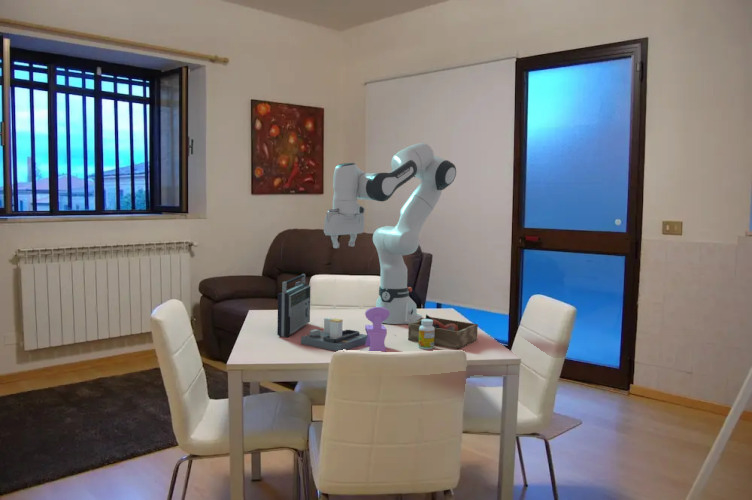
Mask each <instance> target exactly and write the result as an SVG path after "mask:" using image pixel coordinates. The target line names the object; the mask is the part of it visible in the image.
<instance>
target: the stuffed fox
mask: <svg viewBox="0 0 752 500" xmlns="http://www.w3.org/2000/svg"><path fill="white" fill-rule="evenodd" d="M431 317H432V316H429V315H428V314H427V313H426V314H425V318H426V319H431V320H433V325H432V326H433V327H435V328H441V329H447V330H453V331H458V327H459V326H460V325H461V323H459V324H457V325H456V324H453V323H450V324H447V325H443V324H442V323H440V322H439V321H437V320H435V319H433V318H431Z"/></svg>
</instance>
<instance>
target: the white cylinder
mask: <svg viewBox="0 0 752 500" xmlns="http://www.w3.org/2000/svg"><path fill="white" fill-rule="evenodd" d="M343 320H344V319H341V318H336V317H335V318H332V319H331V320H330V338H332V339H337V338H340V337H342V330H343Z"/></svg>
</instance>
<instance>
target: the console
mask: <svg viewBox="0 0 752 500" xmlns="http://www.w3.org/2000/svg"><path fill="white" fill-rule="evenodd" d="M331 319H333V318H331V317H325V318H323V330H320V329H317V328H316V329H315V328H314V329H310V330H309V334H306V335H304V336H301V337H300V344H301V345H303V346H309V347H313V348H318V349H323V350H326V351H334V352H337V351H338V350H343V349H349V350H351V349H354V348H357V347H359V346H363V345H365V344H366V341H367V334H363V333H360V331H358V330H352V329H344V330H343V329H342V337H340V338H337V339H332V338H330V320H331Z"/></svg>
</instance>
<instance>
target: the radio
mask: <svg viewBox="0 0 752 500" xmlns="http://www.w3.org/2000/svg"><path fill="white" fill-rule="evenodd" d="M297 280H300V281H297ZM295 281H297V282H295ZM292 282H295V286H293V287H289V288H287V285H288V284H291V283H292ZM281 284H282V286H281V287H282V288H281V289H282V290H281V291H282V292H280V293H278V294H277V327H276V329H277V331H276V332H277V334H276V335H277V336H278V337H282V338H283V337H284V338H285V337H286V338H287V337H289V336H291V335H292V334H295V332H297V331H298V330H300V329H301V328H303V327H304V326H306V325H307V324H309V323H310V321H311V285H309V284H307V283H306V273H302V274H301V275H298V276H296V277H293V278H291V279H288V280H285V281H282V283H281Z"/></svg>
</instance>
